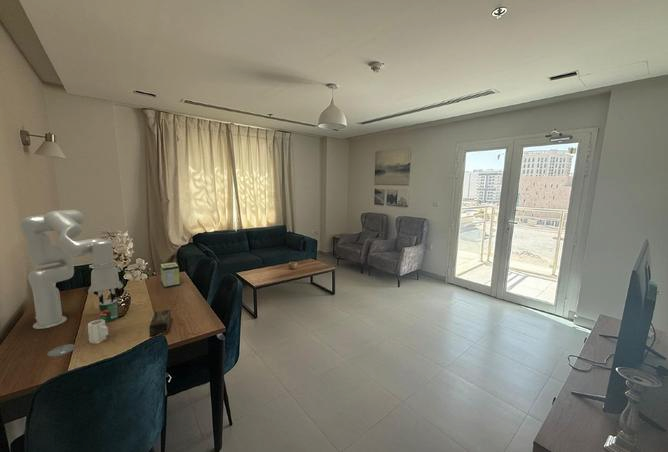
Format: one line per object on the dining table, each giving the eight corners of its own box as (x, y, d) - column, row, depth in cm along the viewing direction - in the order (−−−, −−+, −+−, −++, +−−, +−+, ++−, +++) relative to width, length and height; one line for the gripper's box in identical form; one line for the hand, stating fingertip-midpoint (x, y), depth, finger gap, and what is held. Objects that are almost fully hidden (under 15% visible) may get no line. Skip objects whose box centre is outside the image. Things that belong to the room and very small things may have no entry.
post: (82, 343, 128) (80, 329, 127) (101, 334, 137) (99, 321, 136) (95, 346, 126) (93, 332, 125) (113, 337, 135) (112, 324, 134)
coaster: (42, 355, 119) (42, 353, 119) (66, 344, 128) (66, 342, 128) (56, 359, 117) (56, 357, 117) (80, 347, 126) (80, 346, 126)
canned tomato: (97, 324, 147) (95, 305, 145) (105, 317, 154) (103, 299, 153) (114, 322, 149) (112, 303, 148) (121, 316, 157) (119, 298, 155)
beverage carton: (171, 318, 156) (170, 307, 155) (167, 335, 139) (166, 323, 138) (155, 321, 152) (154, 310, 151) (149, 338, 135) (148, 326, 134)
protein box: (176, 280, 218) (175, 261, 216) (180, 285, 207) (179, 266, 205) (161, 282, 212) (159, 263, 210) (164, 288, 200) (163, 268, 198)
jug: (100, 335, 135) (98, 318, 134) (114, 338, 133) (112, 321, 132) (86, 342, 129) (84, 324, 128) (101, 345, 127) (99, 327, 126)
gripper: (80, 270, 120) (84, 309, 123) (126, 264, 131) (128, 300, 134) (81, 267, 126) (85, 304, 129) (125, 261, 137) (127, 295, 139)
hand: (107, 301), depth 131 cm, fingers open, 3 cm apart
